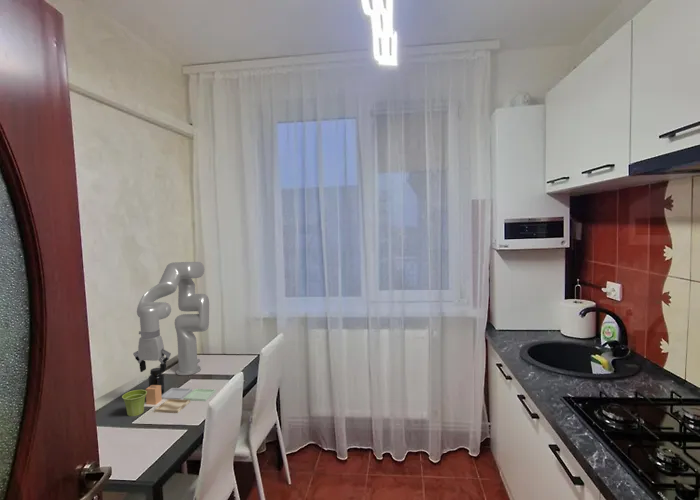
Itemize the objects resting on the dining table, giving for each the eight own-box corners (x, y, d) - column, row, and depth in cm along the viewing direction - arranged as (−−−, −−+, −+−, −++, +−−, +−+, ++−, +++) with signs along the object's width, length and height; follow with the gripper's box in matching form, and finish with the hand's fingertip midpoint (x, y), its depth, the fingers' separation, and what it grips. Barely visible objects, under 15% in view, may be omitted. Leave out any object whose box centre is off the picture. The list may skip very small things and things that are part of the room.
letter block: (146, 404, 182) (145, 388, 181) (152, 399, 186) (151, 384, 186) (155, 404, 181) (154, 389, 180) (161, 400, 185) (161, 385, 185)
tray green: (195, 391, 196) (194, 388, 195) (216, 392, 194) (215, 389, 194) (183, 401, 185) (183, 398, 185) (205, 402, 184) (205, 399, 184)
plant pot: (153, 410, 177) (152, 391, 176) (135, 420, 168) (133, 400, 167) (136, 407, 180) (135, 388, 179) (118, 417, 171) (116, 397, 170)
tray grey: (171, 390, 197) (171, 387, 197) (192, 391, 196) (192, 388, 196) (158, 400, 187) (158, 397, 186) (180, 401, 185) (180, 398, 185)
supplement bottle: (158, 397, 190) (157, 372, 189) (145, 396, 191) (144, 371, 190) (168, 391, 197) (166, 367, 196) (155, 390, 198) (154, 366, 197)
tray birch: (168, 402, 184) (168, 399, 184) (190, 403, 183) (190, 399, 183) (154, 413, 174) (154, 409, 174) (177, 414, 173) (177, 410, 173)
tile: (151, 399, 188) (151, 398, 188) (167, 400, 187) (167, 398, 187) (140, 407, 180) (140, 405, 180) (157, 407, 179) (157, 406, 179)
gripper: (126, 336, 179) (130, 373, 181) (163, 337, 177) (166, 375, 178) (137, 331, 186) (140, 367, 188) (173, 331, 184) (175, 368, 186)
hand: (153, 371), depth 183 cm, fingers open, 9 cm apart
